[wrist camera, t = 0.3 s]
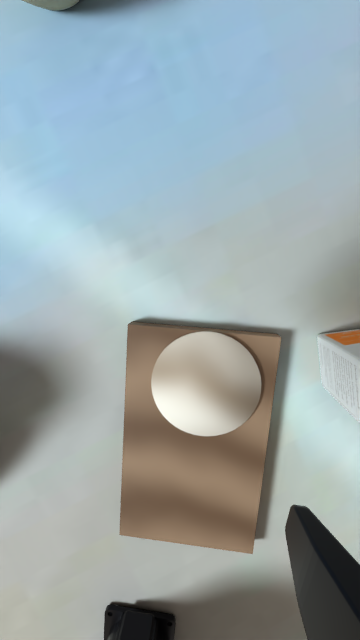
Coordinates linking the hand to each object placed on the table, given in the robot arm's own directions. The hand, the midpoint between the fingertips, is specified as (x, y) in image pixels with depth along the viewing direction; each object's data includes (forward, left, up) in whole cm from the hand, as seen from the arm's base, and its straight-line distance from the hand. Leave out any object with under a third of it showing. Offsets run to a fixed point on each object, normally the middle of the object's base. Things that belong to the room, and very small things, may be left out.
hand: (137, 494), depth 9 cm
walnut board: (-7, -2, -14) cm, 16 cm away
